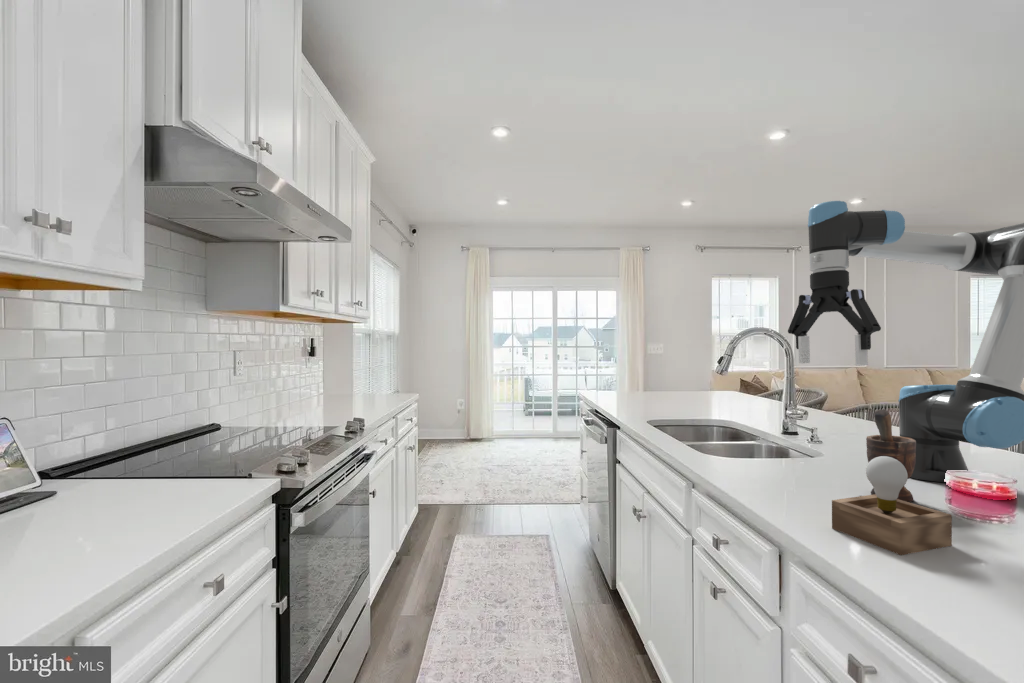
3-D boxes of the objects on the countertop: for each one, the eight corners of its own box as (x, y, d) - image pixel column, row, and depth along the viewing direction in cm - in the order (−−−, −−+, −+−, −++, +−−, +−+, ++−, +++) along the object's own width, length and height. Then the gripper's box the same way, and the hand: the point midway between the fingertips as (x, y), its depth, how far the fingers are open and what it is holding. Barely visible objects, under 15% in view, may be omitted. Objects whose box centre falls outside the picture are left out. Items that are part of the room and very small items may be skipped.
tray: (879, 520, 94) (879, 493, 94) (951, 545, 82) (951, 514, 82) (831, 528, 90) (831, 500, 90) (900, 555, 79) (900, 523, 79)
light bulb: (899, 509, 88) (898, 454, 88) (914, 520, 83) (913, 461, 83) (861, 506, 90) (860, 452, 90) (873, 516, 85) (872, 459, 85)
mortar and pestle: (923, 511, 99) (923, 412, 99) (870, 504, 103) (870, 409, 103) (912, 495, 109) (911, 405, 109) (864, 489, 113) (863, 403, 113)
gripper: (770, 278, 122) (772, 363, 122) (874, 262, 99) (877, 367, 99) (792, 278, 125) (794, 361, 125) (899, 263, 101) (902, 365, 101)
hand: (831, 364), depth 112 cm, fingers open, 13 cm apart
